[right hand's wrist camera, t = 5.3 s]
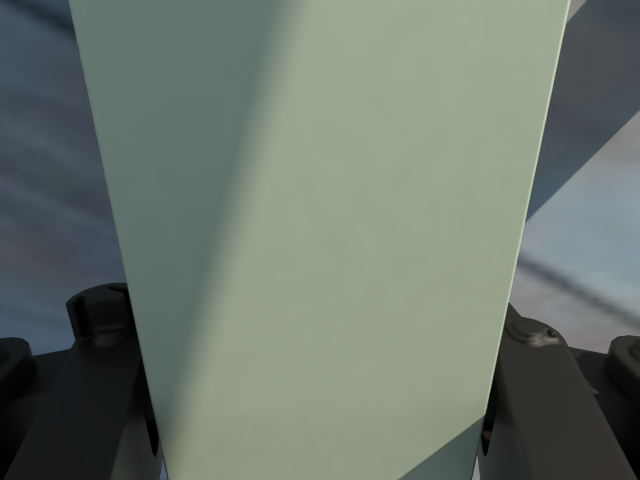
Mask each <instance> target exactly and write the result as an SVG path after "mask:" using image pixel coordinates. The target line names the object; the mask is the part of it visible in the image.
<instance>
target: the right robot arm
mask: <svg viewBox="0 0 640 480" xmlns="http://www.w3.org/2000/svg"><path fill="white" fill-rule="evenodd" d="M66 307H67V311H68V314H69V318H70V321H71V325H72V329H73V332H74V336H75V339H76V340H75V342H74V344H73V346H72V348H71V349H67V350H62V351H57V352H52V353H46V354H41V355H36V356H33V355H32V352H31V349H30V346H29V343H28V342H27V341H25V340H24V339H22V338H14V337H9V338H0V480H160V473H161V465H162V457H163V455H162V450H161V445H160V440H159V436H158V431H157V426H156V421H155V416H154V411H153V407H152V402H151V397H150V392H149V387H148V382H147V378H146V373H145V368H144V363H143V358H142V353H141V349H140V344H139V339H138V334H137V329H136V324H135V320H134V315H133V310H132V305H131V300H130V295H129V290H128V286H127V283H110V284H104V285H99V286H95V287H92V288H89V289H87V290H84V291H82V292H80V293H78V294H76V295H75V296H73V297H72V298H71V299H70V300H69V301H67V302H66ZM477 456H478V464H479V472H480V480H640V336H631V335H627V336H619V337H617V338H615V339H614V340H612V342H611V345H610V348H609V351H608V354H603V353H598V352H593V351H587V350H582V349H577V348H572V347H568V345H567V343H566V341H565V339H564V338H563V337H562V336H561V335H560V333H559V332H558V331H556V330H555V329H553V328H552V327H550V326H548V325H547V324H544V323H542V322H539V321H537V320H534V319H530V318H525V317H521V316H520V315H519V314H518V312H517V311H516V310H515V309H514V308H513V307H512V305H511V304H510V303H509V302H508V306H507V311H506V316H505V321H504V326H503V331H502V335H501V340H500V345H499V350H498V355H497V360H496V365H495V369H494V374H493V379H492V384H491V389H490V394H489V399H488V403H487V408H486V413H485V418H484V423H483V428H482V433H481V437H480V442H479V447H478V452H477Z"/></svg>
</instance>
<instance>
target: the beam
mask: <svg viewBox="0 0 640 480" xmlns="http://www.w3.org/2000/svg"><path fill="white" fill-rule="evenodd" d="M69 5H70V10H71V15H72V20H73V24H74V29H75V34H76V39H77V44H78V49H79V53H80V58H81V63H82V68H83V73H84V78H85V82H86V87H87V92H88V97H89V102H90V107H91V111H92V116H93V121H94V126H95V131H96V136H97V141H98V145H99V150H100V155H101V160H102V165H103V170H104V174H105V179H106V184H107V189H108V194H109V199H110V203H111V208H112V213H113V218H114V223H115V228H116V232H117V237H118V242H119V247H120V252H121V257H122V261H123V266H124V271H125V276H126V281H127V286H128V290H129V295H130V300H131V305H132V310H133V315H134V320H135V324H136V329H137V334H138V339H139V344H140V349H141V353H142V358H143V363H144V368H145V373H146V378H147V382H148V387H149V392H150V397H151V402H152V407H153V411H154V416H155V421H156V426H157V431H158V436H159V440H160V445H161V450H162V455H163V460H164V465H165V470H166V474H167V479H168V480H472V476H473V471H474V467H475V462H476V457H477V452H478V447H479V442H480V437H481V433H482V428H483V423H484V418H485V413H486V408H487V403H488V399H489V394H490V389H491V384H492V379H493V374H494V369H495V365H496V360H497V355H498V350H499V345H500V340H501V335H502V331H503V326H504V321H505V316H506V311H507V306H508V301H509V297H510V292H511V287H512V282H513V277H514V272H515V267H516V263H517V258H518V253H519V248H520V243H521V238H522V233H523V229H524V224H525V219H526V214H527V209H528V204H529V199H530V195H531V190H532V185H533V180H534V175H535V170H536V165H537V161H538V156H539V151H540V146H541V141H542V136H543V131H544V126H545V122H546V117H547V112H548V107H549V102H550V97H551V92H552V88H553V83H554V78H555V73H556V68H557V63H558V58H559V54H560V49H561V44H562V39H563V34H564V29H565V24H566V20H567V15H568V10H569V5H570V0H69Z"/></svg>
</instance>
